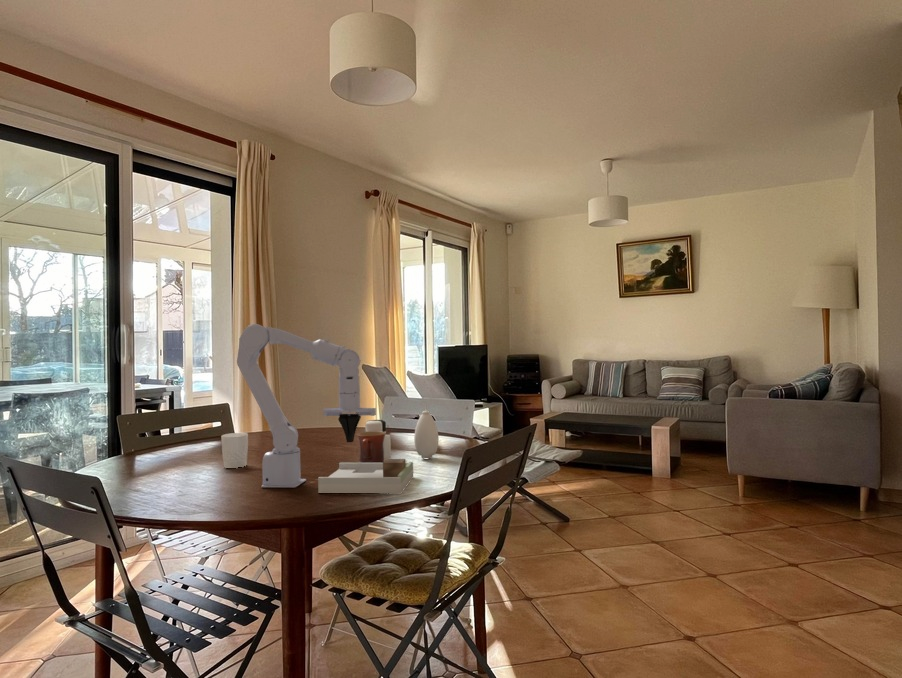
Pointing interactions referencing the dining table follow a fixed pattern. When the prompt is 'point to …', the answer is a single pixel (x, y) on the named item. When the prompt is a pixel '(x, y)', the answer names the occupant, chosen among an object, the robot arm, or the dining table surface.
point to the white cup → (234, 449)
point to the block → (393, 467)
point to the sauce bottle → (426, 435)
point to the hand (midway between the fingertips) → (350, 441)
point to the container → (380, 426)
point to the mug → (371, 446)
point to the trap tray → (364, 479)
